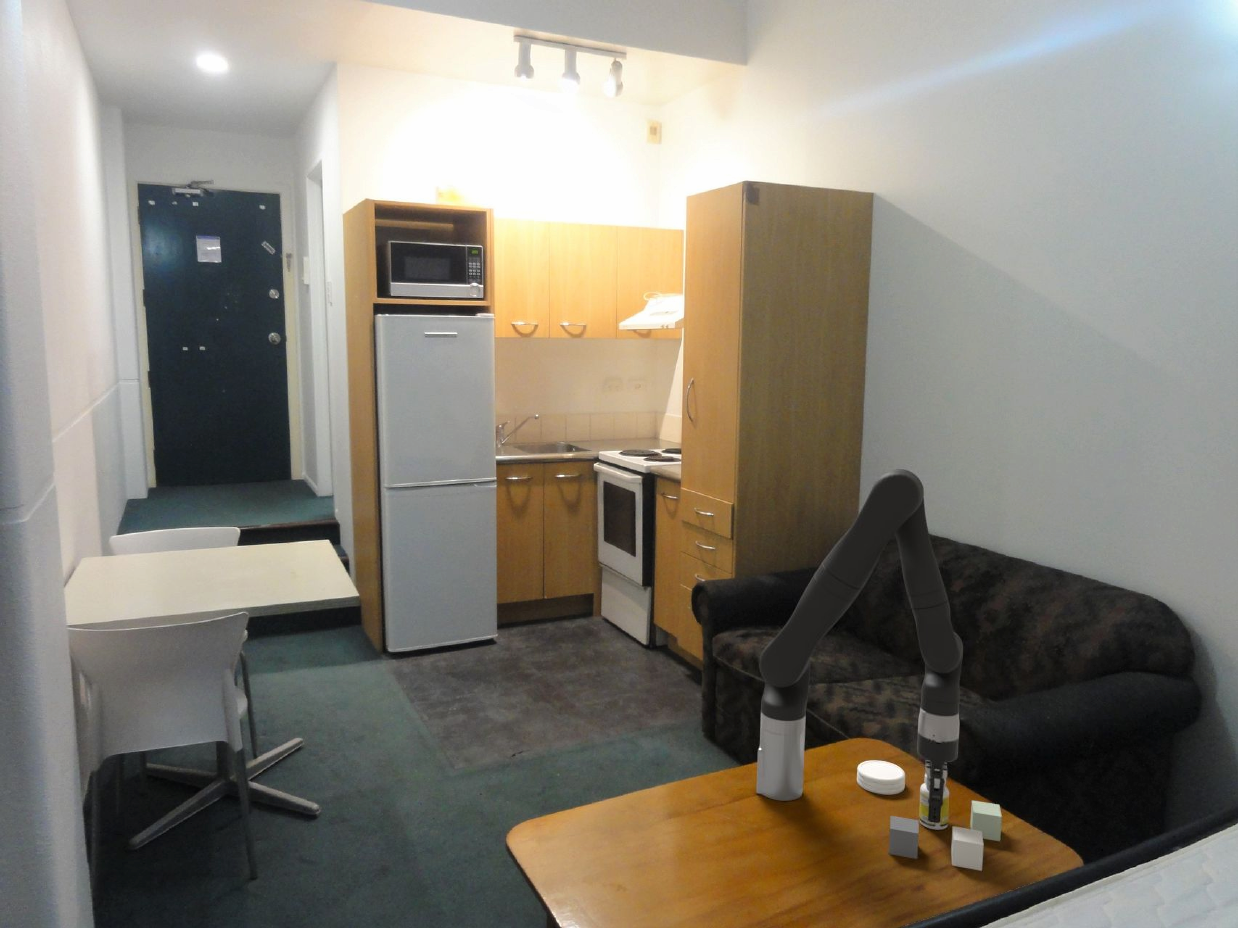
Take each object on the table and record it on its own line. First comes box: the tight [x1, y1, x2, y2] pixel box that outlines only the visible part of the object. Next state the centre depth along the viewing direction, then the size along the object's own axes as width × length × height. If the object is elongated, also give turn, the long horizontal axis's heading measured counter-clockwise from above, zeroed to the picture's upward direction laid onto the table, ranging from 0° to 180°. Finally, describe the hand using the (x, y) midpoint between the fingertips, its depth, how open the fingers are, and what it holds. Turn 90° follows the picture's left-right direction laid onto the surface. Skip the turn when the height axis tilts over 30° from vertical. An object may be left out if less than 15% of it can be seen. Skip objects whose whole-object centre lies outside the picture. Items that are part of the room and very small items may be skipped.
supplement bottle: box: [918, 773, 950, 831], centre depth 172 cm, size 5×5×10 cm
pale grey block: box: [950, 825, 984, 871], centre depth 160 cm, size 5×5×5 cm
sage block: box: [969, 800, 1003, 842], centre depth 170 cm, size 5×5×5 cm
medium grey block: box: [888, 815, 920, 860], centre depth 163 cm, size 5×5×5 cm
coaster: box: [856, 759, 906, 796], centre depth 189 cm, size 10×10×4 cm
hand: (933, 813), depth 173 cm, fingers closed on supplement bottle, 5 cm apart
